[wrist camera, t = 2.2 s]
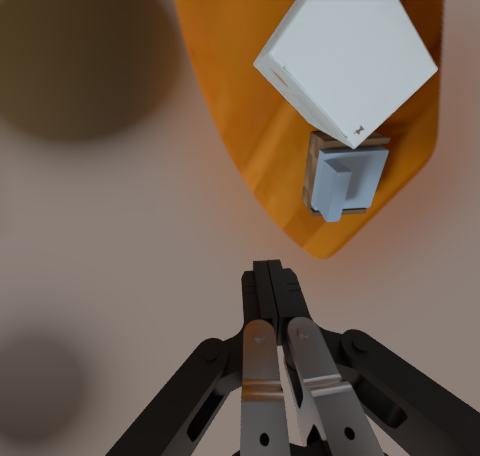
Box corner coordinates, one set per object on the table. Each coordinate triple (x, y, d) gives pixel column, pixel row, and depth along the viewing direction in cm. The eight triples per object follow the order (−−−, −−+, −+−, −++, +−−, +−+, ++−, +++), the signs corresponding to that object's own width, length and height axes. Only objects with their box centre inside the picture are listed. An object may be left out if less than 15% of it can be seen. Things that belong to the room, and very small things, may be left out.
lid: (319, 149, 21) (339, 165, 17) (380, 146, 21) (413, 161, 17) (310, 204, 25) (325, 227, 21) (363, 201, 25) (387, 223, 21)
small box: (353, 74, 21) (444, 71, 12) (308, 124, 23) (356, 152, 14) (296, -4, 17) (362, -84, 9) (250, 64, 20) (267, 53, 11)
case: (310, 132, 23) (325, 141, 20) (366, 128, 23) (390, 137, 20) (301, 199, 28) (312, 216, 24) (348, 196, 28) (365, 213, 24)
